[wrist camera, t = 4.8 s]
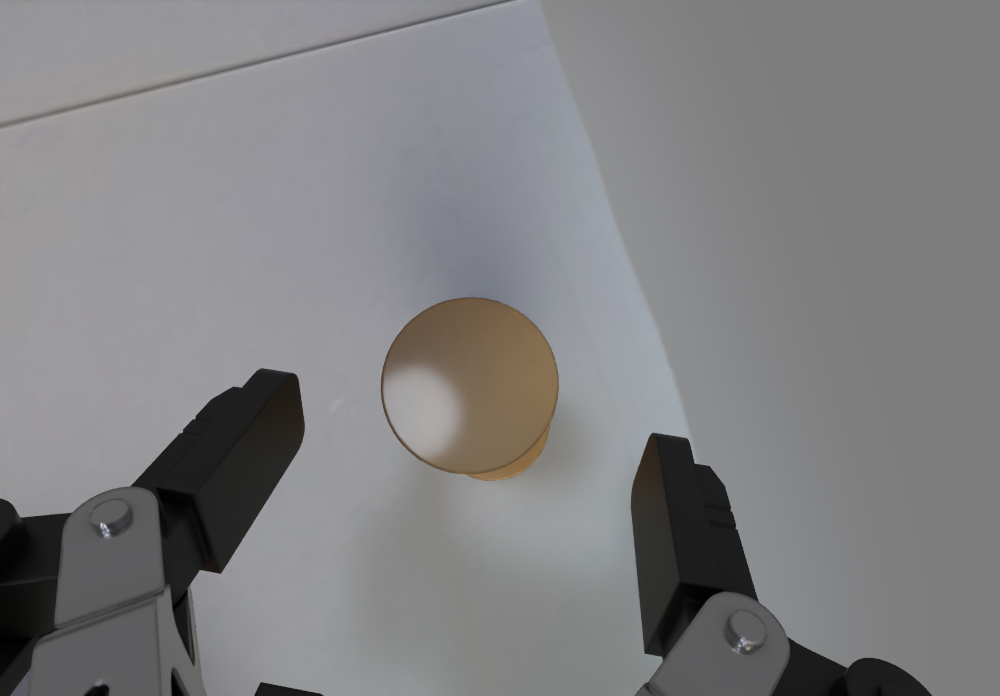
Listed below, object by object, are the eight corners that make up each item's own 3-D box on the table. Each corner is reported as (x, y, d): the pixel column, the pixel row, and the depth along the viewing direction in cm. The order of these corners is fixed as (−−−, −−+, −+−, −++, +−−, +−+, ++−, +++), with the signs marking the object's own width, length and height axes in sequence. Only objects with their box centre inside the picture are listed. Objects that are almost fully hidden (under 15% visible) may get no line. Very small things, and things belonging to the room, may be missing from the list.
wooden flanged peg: (568, 407, 24) (633, 348, 11) (508, 501, 23) (503, 557, 10) (477, 348, 24) (439, 228, 11) (416, 438, 23) (302, 417, 11)
